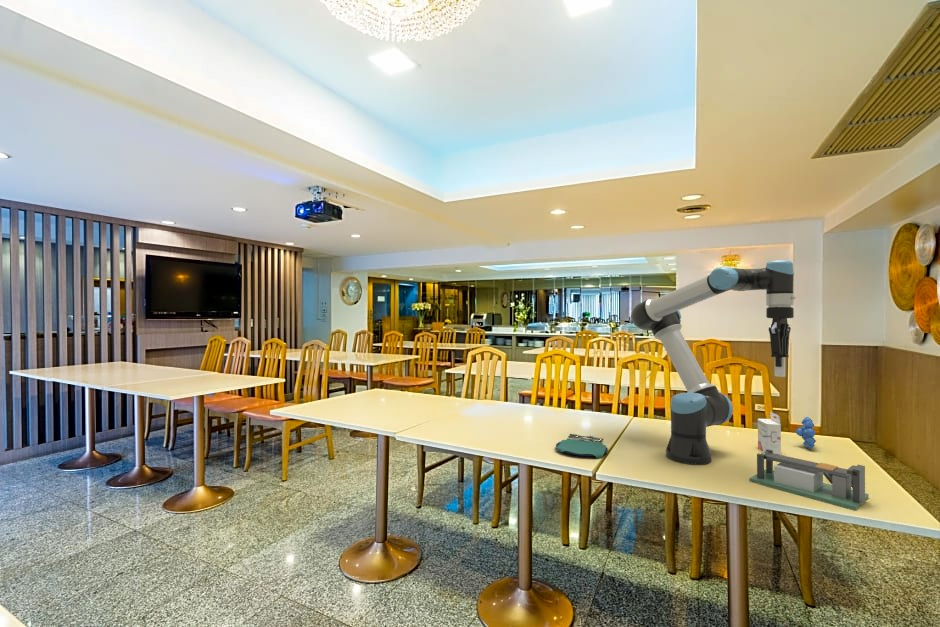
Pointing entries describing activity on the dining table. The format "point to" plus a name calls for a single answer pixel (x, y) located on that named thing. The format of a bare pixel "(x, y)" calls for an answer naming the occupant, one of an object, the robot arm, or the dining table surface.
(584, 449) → the teal clutch purse
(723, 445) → the dining table surface
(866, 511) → the dining table surface
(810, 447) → the grapes
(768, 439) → the ink cartridge box
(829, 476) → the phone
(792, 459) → the clamp bar
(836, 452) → the dining table surface
